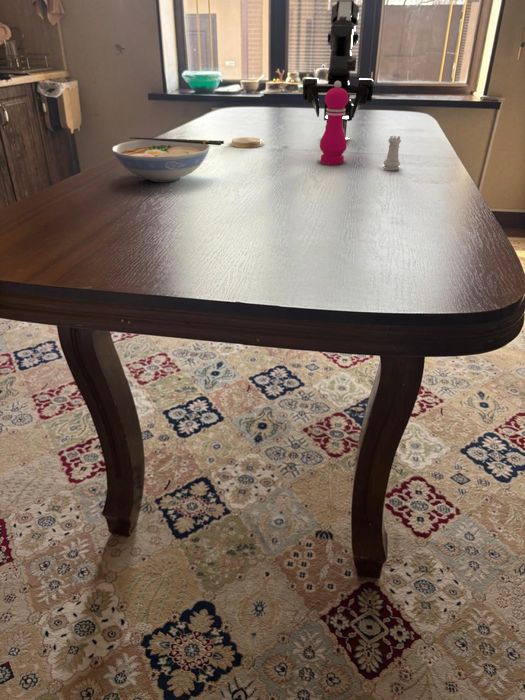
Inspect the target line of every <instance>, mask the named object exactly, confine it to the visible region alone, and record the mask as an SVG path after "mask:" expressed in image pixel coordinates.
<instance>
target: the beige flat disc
mask: <svg viewBox="0 0 525 700" xmlns="http://www.w3.org/2000/svg"><path fill="white" fill-rule="evenodd" d="M230 144H231V146H232V147H234V148H240V149H241V148H243V149H251V148H252V149H253V148H259V147H262V145H263V142H262V139H261V138H256V137H250V136H249V137H248V136H247V137H245V136H244V137H236V138H232V139H231V143H230Z"/></svg>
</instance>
